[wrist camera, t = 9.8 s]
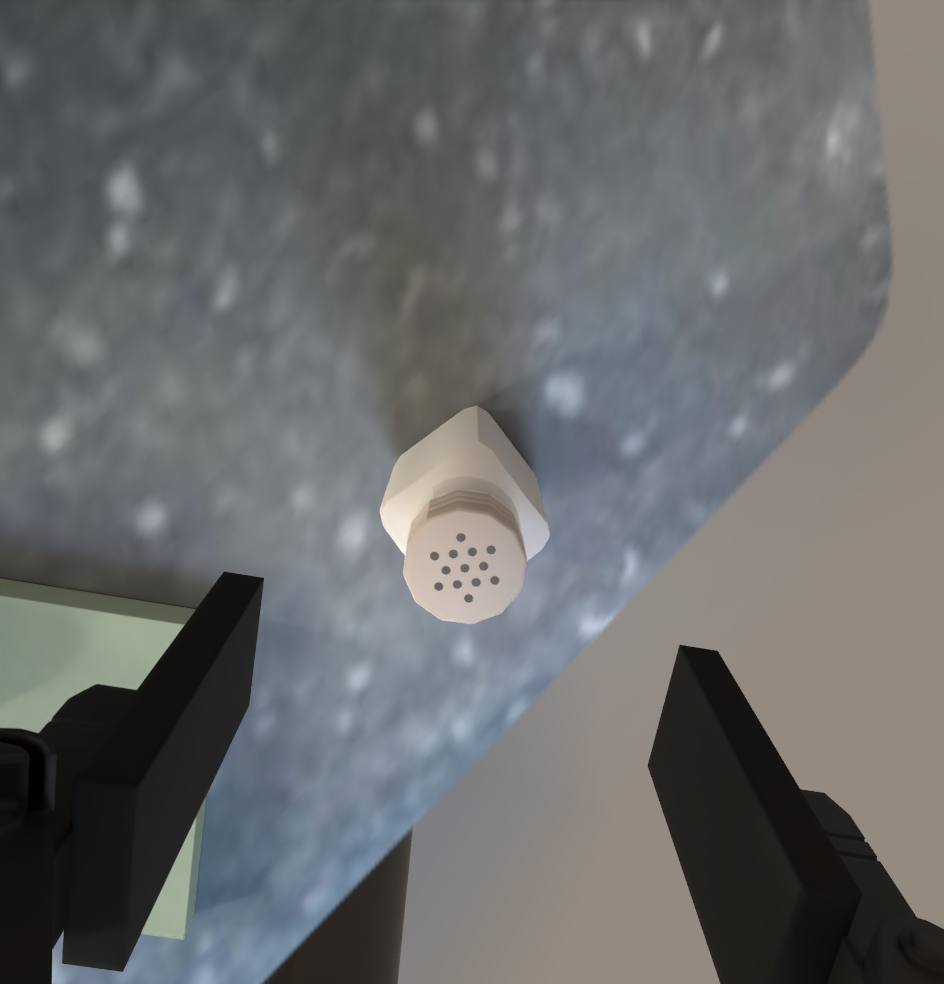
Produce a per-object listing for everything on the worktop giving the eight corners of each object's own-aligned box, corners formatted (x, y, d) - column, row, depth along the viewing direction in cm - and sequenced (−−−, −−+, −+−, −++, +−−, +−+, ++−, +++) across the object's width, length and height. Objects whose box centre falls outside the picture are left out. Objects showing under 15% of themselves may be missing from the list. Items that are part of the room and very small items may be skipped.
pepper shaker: (455, 545, 32) (449, 666, 23) (388, 461, 32) (355, 553, 22) (543, 483, 32) (573, 583, 23) (477, 395, 31) (480, 462, 22)
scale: (194, 914, 37) (171, 971, 34) (-146, 866, 36) (-199, 921, 33) (226, 612, 33) (203, 648, 30) (-154, 552, 32) (-214, 583, 30)
